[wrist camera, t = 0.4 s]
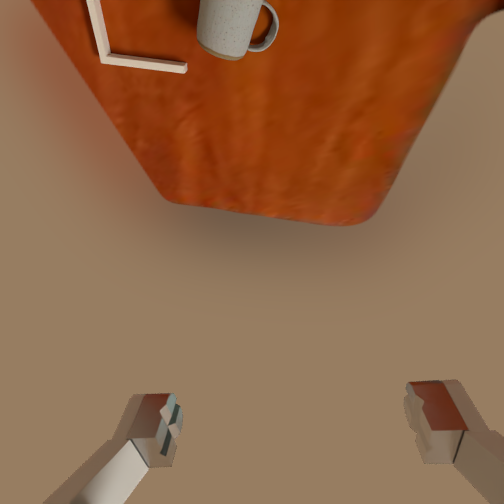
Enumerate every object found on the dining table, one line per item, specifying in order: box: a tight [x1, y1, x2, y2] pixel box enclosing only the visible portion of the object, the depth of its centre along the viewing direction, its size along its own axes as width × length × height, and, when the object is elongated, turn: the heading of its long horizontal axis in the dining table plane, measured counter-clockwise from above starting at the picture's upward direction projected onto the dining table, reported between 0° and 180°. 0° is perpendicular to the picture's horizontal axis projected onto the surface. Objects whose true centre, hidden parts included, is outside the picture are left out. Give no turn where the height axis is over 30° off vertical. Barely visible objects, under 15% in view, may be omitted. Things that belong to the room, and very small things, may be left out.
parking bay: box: [86, 0, 187, 73], centre depth 42 cm, size 16×13×2 cm
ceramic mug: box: [197, 0, 279, 60], centre depth 41 cm, size 11×8×8 cm
